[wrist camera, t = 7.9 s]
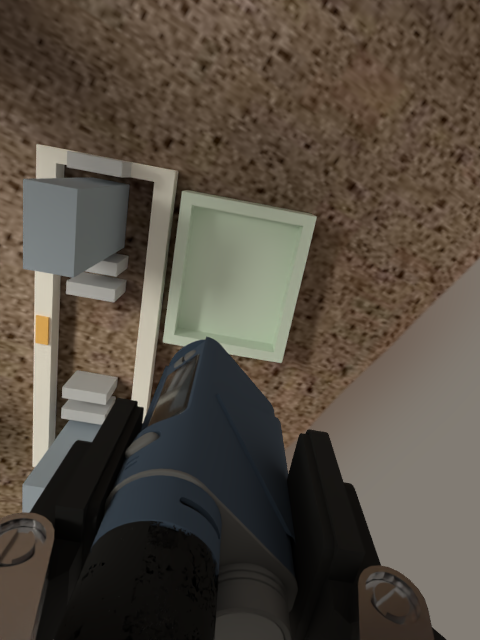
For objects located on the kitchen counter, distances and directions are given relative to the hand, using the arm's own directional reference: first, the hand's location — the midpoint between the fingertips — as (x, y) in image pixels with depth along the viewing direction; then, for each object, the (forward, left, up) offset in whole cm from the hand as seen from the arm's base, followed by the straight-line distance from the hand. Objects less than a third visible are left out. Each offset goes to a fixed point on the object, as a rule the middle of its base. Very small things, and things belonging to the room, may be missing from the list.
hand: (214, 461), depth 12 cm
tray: (0, 0, -23) cm, 23 cm away
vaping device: (0, 0, -4) cm, 4 cm away
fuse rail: (+7, -10, -23) cm, 26 cm away
